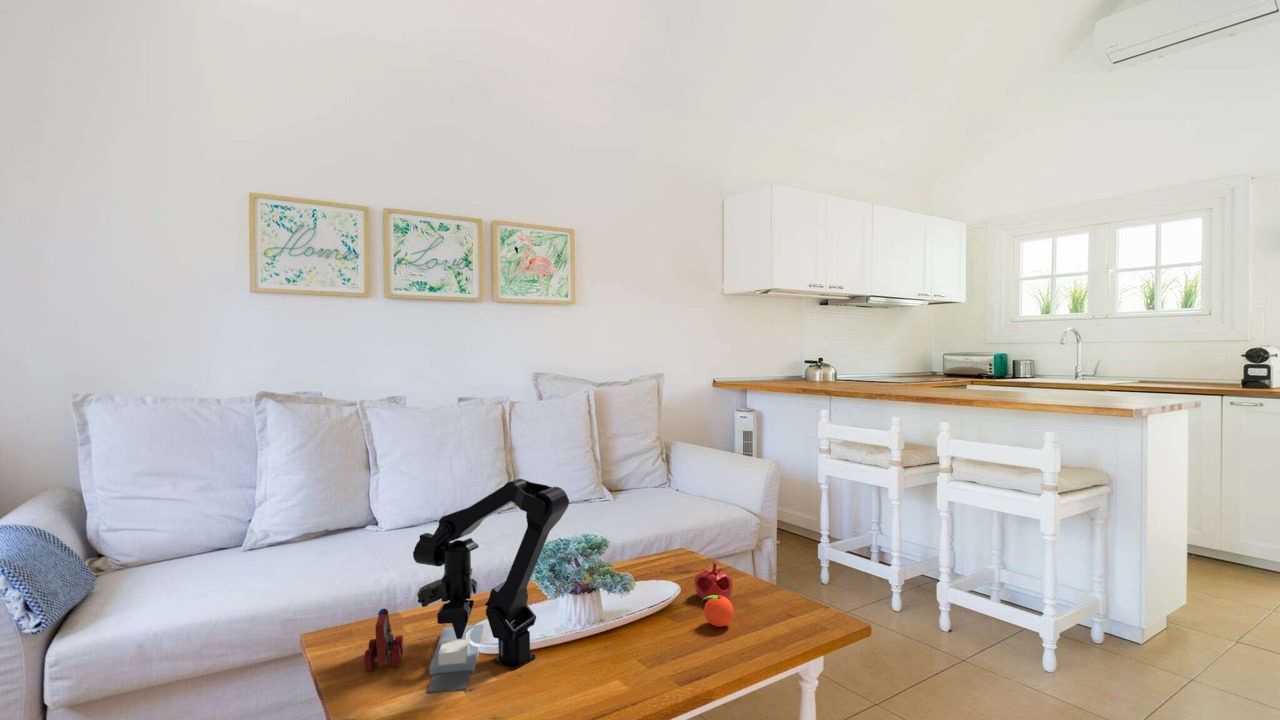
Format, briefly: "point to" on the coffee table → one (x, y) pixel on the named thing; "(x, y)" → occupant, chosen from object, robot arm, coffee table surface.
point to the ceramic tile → (453, 652)
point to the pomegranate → (713, 583)
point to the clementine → (718, 610)
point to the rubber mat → (449, 681)
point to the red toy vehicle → (384, 644)
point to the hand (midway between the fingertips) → (459, 638)
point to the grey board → (472, 656)
